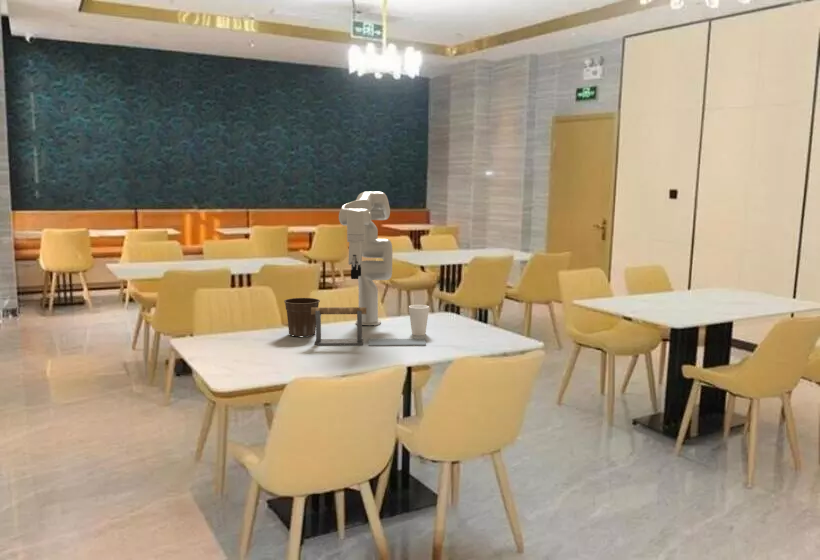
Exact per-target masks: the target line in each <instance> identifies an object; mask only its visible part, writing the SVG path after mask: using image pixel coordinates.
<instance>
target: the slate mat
mask: <svg viewBox="0 0 820 560" xmlns="http://www.w3.org/2000/svg"><path fill="white" fill-rule="evenodd" d="M413 345H415V346H413ZM416 345H417V346H418V347H420V346H421V345H423V346H421V347H424V346H425V347H426V346H427V342H426V339H425V338H369V339H368V347H417V346H416Z"/></svg>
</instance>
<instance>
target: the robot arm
mask: <svg viewBox="0 0 820 560" xmlns="http://www.w3.org/2000/svg"><path fill="white" fill-rule="evenodd" d="M390 214H391V207H390V203H389V199H388V195H386V193H385V192H382V191H363V192H361V193H359V194H358V195H357V197H356V199H355V200H352V201H350V202H347V203H345V204H343V205H342V206H341V208H340V210H339V213H338V221H339V223H340V224H341V225H342V226H346V240H347V241H346V242H347V243H348V263H347V264H348V265H349V266H351V267H350V279H351V280H357V282H358V307H366V314H362V325H374V326H380V325H381V324H380V323H382V322H381V320H380V319H379V306H378V305H379V303H378V302H379V296H378V295H379V294H378V293H379V290H378V286H377V284H376V283H375V282H374V281H388V280H390V279H391V278H392V276H393V244H392V241H391V240H390V239H388V238H378V234H379V233H378V232H379V230H378V227H377V226H376V224H375V222H373V221H386V220H388V219H389V218H390ZM363 258H367V259H382V260H363ZM355 324H356V325H357V320H355Z"/></svg>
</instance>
